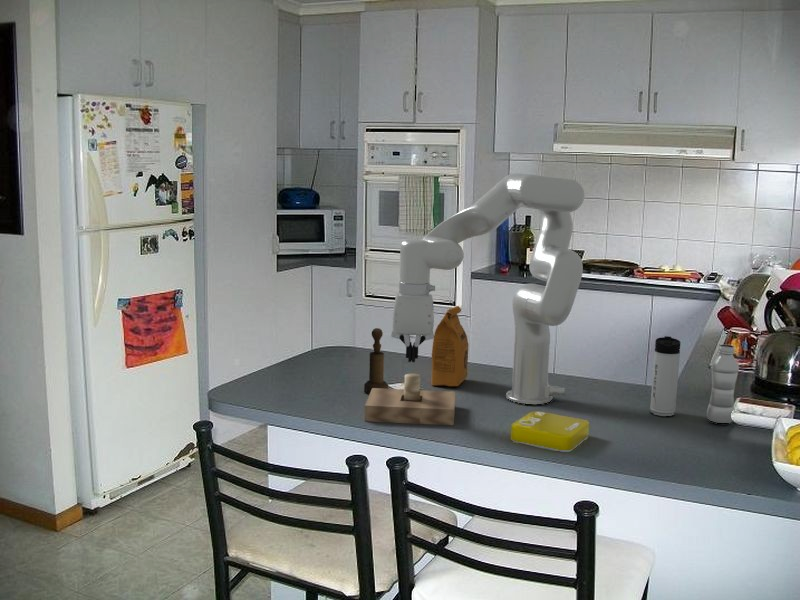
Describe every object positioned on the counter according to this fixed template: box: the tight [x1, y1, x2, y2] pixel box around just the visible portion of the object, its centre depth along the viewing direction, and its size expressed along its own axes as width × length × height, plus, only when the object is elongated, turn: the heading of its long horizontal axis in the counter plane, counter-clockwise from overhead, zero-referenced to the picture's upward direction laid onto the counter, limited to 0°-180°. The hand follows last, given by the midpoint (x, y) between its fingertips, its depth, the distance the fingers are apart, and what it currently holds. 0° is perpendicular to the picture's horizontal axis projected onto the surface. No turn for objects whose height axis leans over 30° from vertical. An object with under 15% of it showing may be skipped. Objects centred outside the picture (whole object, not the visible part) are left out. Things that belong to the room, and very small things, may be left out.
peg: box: [403, 373, 421, 402], centre depth 222 cm, size 4×4×10 cm
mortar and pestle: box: [363, 327, 389, 395], centre depth 240 cm, size 7×6×18 cm
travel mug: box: [649, 335, 681, 414], centre depth 226 cm, size 6×7×20 cm
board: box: [364, 388, 456, 426], centre depth 222 cm, size 22×16×4 cm
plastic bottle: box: [706, 344, 740, 424], centre depth 219 cm, size 6×7×20 cm
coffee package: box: [430, 305, 469, 387], centre depth 250 cm, size 10×12×22 cm
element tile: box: [510, 410, 590, 450], centre depth 205 cm, size 15×15×5 cm
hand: (411, 360), depth 220 cm, fingers closed
